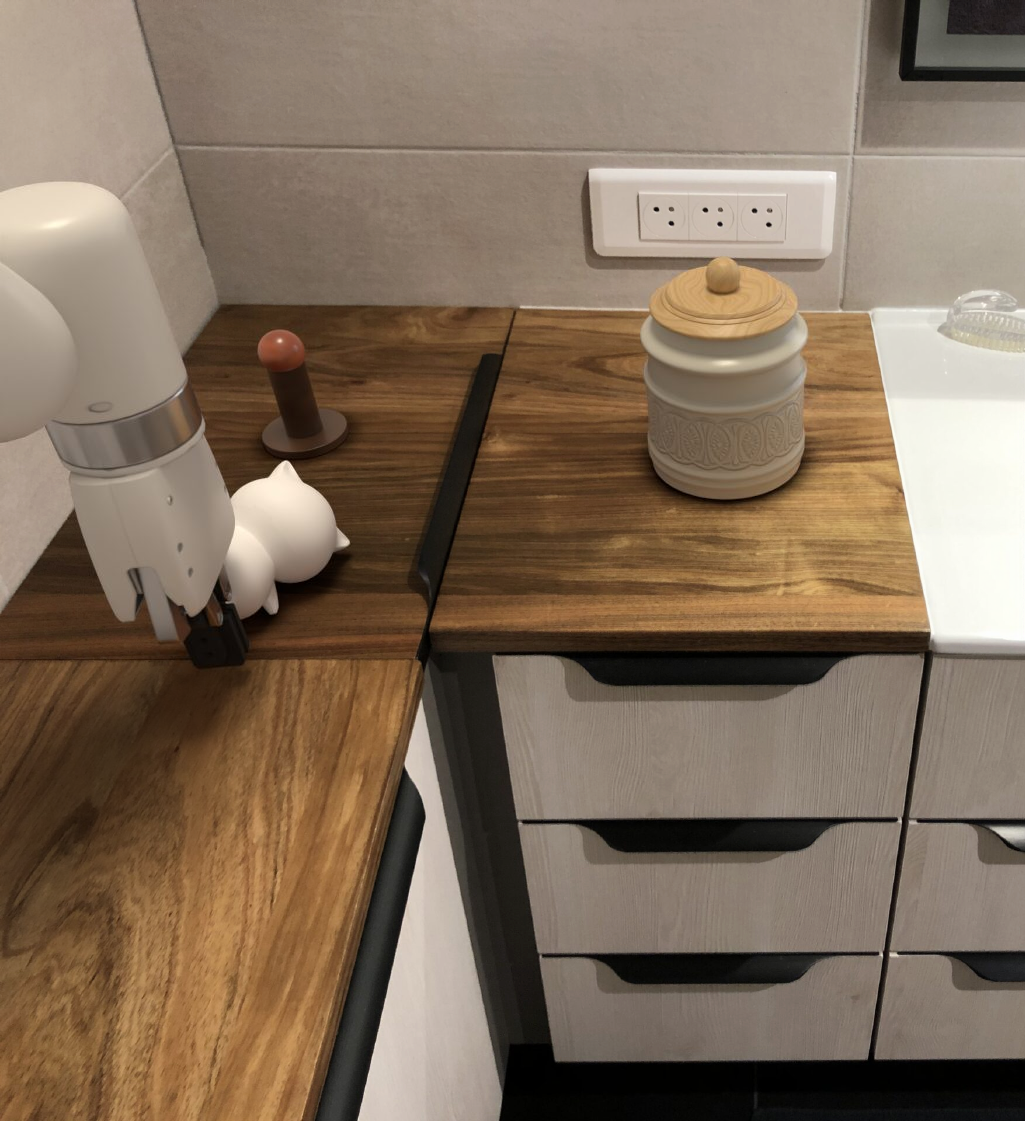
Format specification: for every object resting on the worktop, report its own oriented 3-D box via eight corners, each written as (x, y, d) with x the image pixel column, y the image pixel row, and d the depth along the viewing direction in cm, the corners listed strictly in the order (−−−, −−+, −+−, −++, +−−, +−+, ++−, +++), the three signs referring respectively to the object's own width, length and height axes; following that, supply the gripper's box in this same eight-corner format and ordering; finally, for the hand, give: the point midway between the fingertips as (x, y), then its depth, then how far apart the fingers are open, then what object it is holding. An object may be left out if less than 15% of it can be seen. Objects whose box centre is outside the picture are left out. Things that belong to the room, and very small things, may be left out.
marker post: (283, 469, 93) (248, 362, 87) (251, 434, 98) (216, 329, 91) (362, 439, 97) (334, 334, 91) (328, 407, 101) (300, 304, 95)
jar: (776, 517, 88) (779, 309, 77) (624, 486, 91) (605, 283, 80) (822, 431, 97) (831, 236, 86) (683, 406, 101) (673, 215, 90)
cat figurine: (166, 536, 71) (307, 439, 79) (108, 562, 78) (242, 471, 86) (256, 644, 74) (383, 540, 82) (192, 659, 81) (314, 562, 89)
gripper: (97, 356, 67) (193, 590, 79) (0, 502, 56) (129, 750, 67) (227, 348, 68) (303, 581, 80) (157, 490, 57) (258, 738, 68)
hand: (223, 658), depth 73 cm, fingers closed
